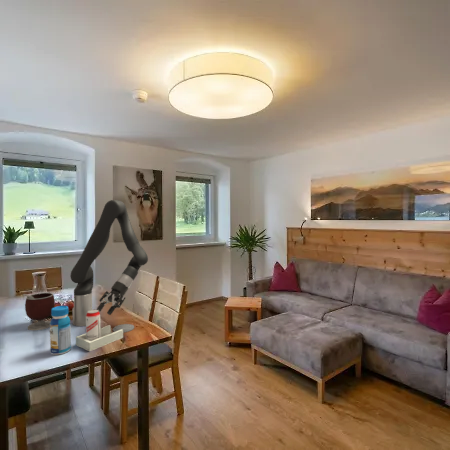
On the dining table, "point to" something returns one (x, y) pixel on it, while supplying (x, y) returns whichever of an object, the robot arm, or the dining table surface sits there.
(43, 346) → the dining table surface
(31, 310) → the mate gourd
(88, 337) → the beer can
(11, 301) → the dining table surface
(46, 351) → the dining table surface
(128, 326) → the mat
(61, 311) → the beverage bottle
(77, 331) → the dining table surface
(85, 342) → the cream open tray
